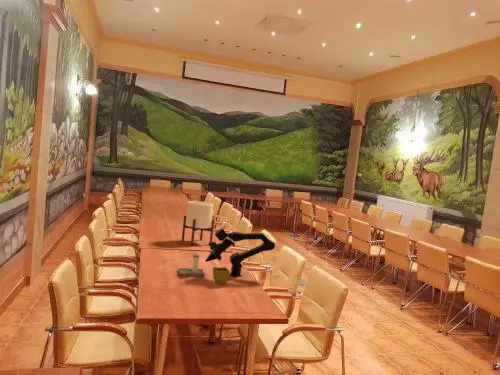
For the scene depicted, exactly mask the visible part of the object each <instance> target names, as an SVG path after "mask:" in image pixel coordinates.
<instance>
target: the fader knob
mask: <svg viewBox="0 0 500 375" xmlns="http://www.w3.org/2000/svg"><path fill="white" fill-rule="evenodd" d="M199 259H200V255H199V254H198V253H193V254H192V262H191V263H192V264H191V268H192V272H197V269H199Z"/></svg>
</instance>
